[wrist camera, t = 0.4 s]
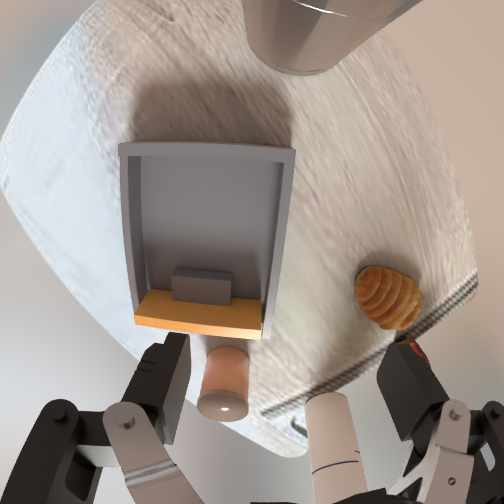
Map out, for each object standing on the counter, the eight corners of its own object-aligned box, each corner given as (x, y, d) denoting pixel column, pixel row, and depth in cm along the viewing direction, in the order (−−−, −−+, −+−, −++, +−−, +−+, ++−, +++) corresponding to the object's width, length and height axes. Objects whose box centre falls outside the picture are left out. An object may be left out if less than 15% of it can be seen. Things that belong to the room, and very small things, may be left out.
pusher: (147, 264, 28) (129, 289, 23) (264, 275, 28) (264, 304, 24) (150, 297, 30) (135, 324, 25) (260, 309, 30) (260, 339, 25)
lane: (135, 141, 23) (110, 144, 19) (291, 147, 23) (299, 151, 19) (145, 307, 31) (130, 333, 27) (268, 320, 31) (269, 350, 27)
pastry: (336, 294, 30) (345, 314, 26) (374, 247, 28) (389, 263, 24) (387, 324, 32) (397, 343, 28) (421, 285, 29) (435, 302, 26)
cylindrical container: (320, 388, 37) (343, 543, 14) (355, 396, 38) (387, 532, 15) (296, 411, 39) (306, 549, 17) (329, 417, 41) (348, 543, 18)
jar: (206, 343, 33) (195, 392, 26) (252, 347, 33) (250, 398, 26) (207, 372, 35) (198, 418, 28) (248, 376, 36) (246, 423, 28)
